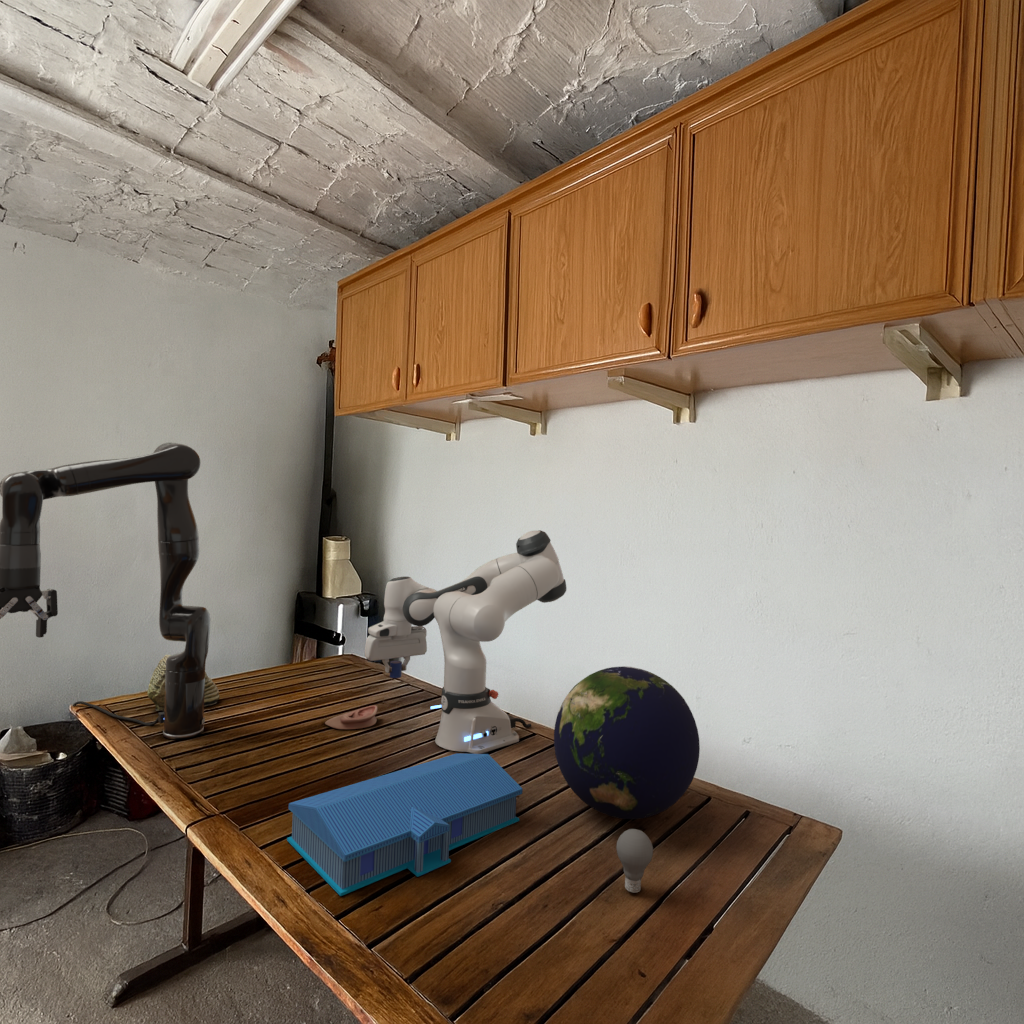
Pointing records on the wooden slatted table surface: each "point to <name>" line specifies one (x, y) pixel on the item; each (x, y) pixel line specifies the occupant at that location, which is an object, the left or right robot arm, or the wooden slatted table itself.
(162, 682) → the fossil
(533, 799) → the wooden slatted table surface
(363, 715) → the anatomical model
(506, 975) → the wooden slatted table surface
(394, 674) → the canister
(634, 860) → the light bulb
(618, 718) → the globe
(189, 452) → the left robot arm
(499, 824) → the model building
